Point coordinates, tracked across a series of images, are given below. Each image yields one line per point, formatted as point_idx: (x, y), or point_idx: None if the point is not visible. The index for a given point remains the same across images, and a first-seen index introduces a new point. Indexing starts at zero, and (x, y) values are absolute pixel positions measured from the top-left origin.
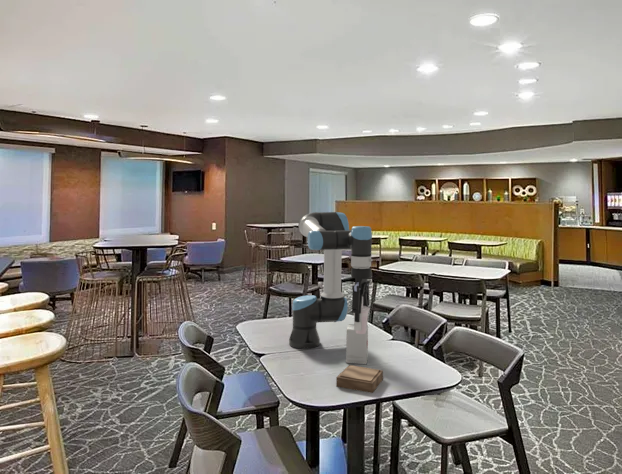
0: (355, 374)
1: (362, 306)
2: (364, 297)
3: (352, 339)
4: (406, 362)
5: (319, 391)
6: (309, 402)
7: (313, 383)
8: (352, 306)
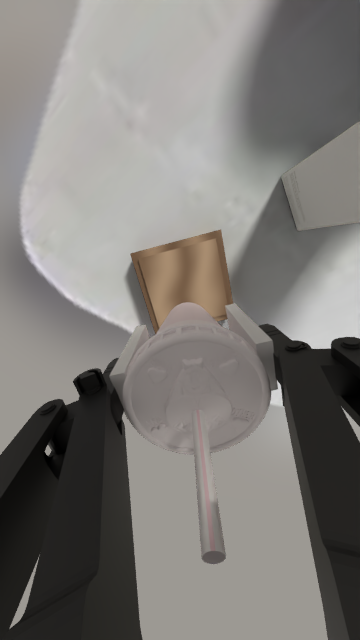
0: (168, 285)
1: (194, 425)
2: (302, 495)
3: (334, 169)
4: (356, 303)
5: (89, 238)
6: (37, 256)
7: (111, 195)
8: (10, 448)
